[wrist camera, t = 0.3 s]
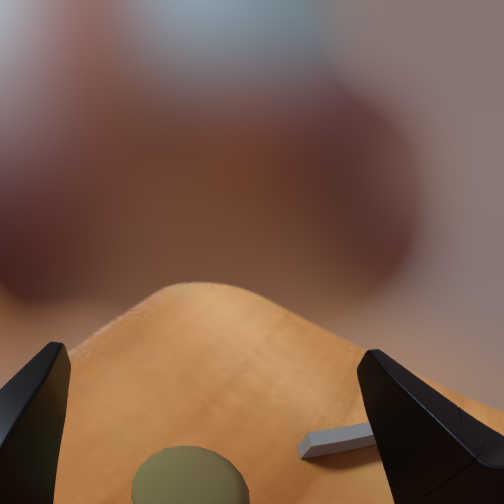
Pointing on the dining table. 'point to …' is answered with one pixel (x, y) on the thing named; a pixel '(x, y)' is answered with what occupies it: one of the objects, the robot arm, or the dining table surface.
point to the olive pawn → (188, 478)
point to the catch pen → (336, 440)
